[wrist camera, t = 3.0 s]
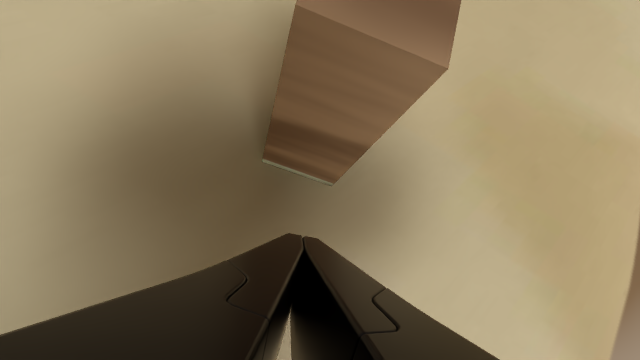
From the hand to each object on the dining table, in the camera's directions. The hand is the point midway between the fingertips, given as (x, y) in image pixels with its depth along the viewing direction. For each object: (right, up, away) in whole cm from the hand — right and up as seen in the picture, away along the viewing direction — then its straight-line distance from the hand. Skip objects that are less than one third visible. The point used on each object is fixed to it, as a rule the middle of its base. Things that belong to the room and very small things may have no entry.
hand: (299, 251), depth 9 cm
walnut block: (0, +5, +15) cm, 16 cm away
